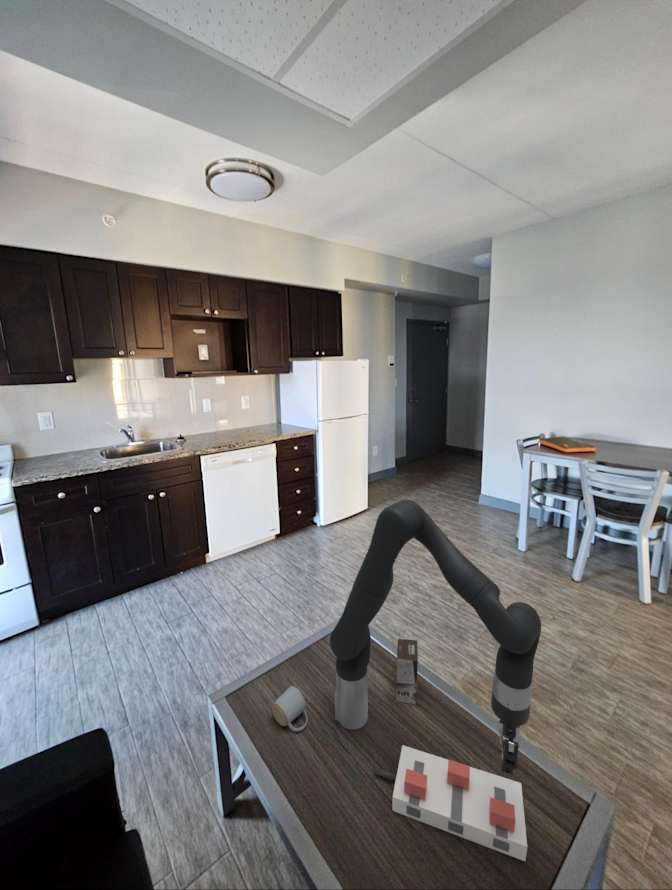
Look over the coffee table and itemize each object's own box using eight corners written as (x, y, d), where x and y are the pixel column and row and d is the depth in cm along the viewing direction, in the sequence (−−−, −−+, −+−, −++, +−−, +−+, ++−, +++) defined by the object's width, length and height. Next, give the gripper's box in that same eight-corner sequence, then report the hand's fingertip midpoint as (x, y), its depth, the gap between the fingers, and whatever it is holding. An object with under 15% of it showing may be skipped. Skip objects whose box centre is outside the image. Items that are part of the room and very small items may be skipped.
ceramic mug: (270, 718, 116) (269, 698, 114) (290, 700, 122) (289, 680, 120) (294, 741, 110) (293, 719, 108) (314, 720, 116) (313, 699, 114)
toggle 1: (404, 792, 92) (404, 781, 91) (406, 779, 94) (406, 768, 94) (425, 799, 90) (425, 788, 89) (426, 786, 93) (427, 775, 92)
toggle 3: (489, 823, 85) (490, 811, 84) (489, 808, 88) (490, 796, 87) (514, 832, 84) (515, 820, 83) (512, 816, 86) (514, 805, 85)
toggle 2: (447, 782, 93) (447, 771, 93) (447, 770, 96) (448, 759, 95) (468, 789, 92) (469, 778, 91) (468, 777, 94) (469, 766, 94)
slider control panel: (368, 802, 94) (367, 787, 93) (380, 750, 106) (380, 737, 105) (525, 862, 82) (527, 846, 81) (519, 797, 94) (521, 782, 93)
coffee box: (416, 704, 120) (417, 661, 116) (395, 701, 121) (396, 658, 117) (416, 680, 128) (417, 639, 124) (397, 677, 130) (397, 637, 126)
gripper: (491, 663, 89) (486, 719, 93) (493, 717, 76) (488, 779, 80) (527, 671, 87) (520, 728, 91) (535, 728, 74) (527, 792, 78)
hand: (505, 752), depth 85 cm, fingers open, 8 cm apart
